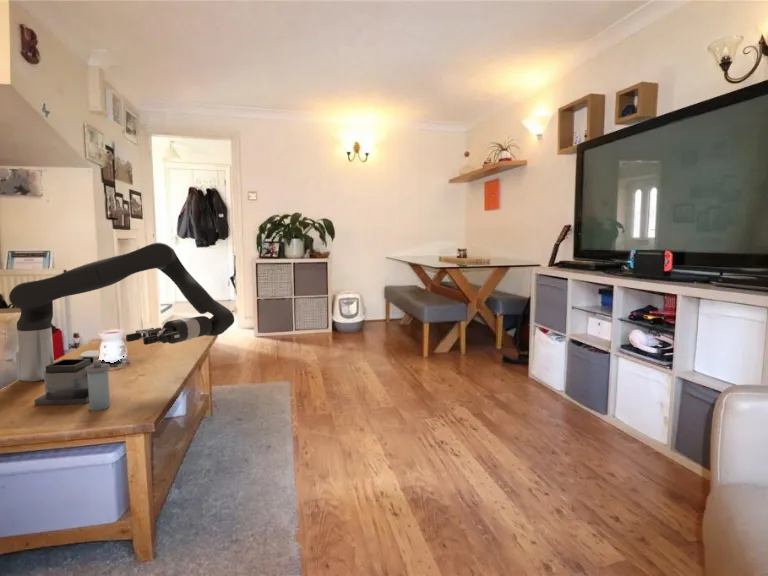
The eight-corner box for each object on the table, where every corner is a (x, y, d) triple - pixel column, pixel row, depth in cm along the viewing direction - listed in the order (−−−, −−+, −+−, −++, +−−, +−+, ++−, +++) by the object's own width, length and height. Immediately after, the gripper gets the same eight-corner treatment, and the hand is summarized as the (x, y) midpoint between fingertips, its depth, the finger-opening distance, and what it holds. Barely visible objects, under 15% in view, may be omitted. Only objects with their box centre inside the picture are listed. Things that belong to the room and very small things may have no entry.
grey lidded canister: (83, 411, 124) (80, 363, 122) (94, 404, 129) (91, 358, 128) (105, 411, 124) (102, 363, 123) (115, 403, 130) (113, 358, 129)
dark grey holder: (32, 406, 127) (29, 368, 126) (62, 389, 141) (60, 356, 140) (84, 404, 129) (82, 367, 128) (109, 388, 143) (107, 355, 141)
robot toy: (128, 360, 180) (86, 359, 176) (128, 349, 180) (86, 348, 176) (118, 368, 168) (73, 368, 164) (119, 357, 168) (73, 356, 164)
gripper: (167, 317, 152) (120, 325, 138) (195, 320, 145) (149, 329, 131) (168, 338, 153) (121, 349, 139) (196, 343, 146) (151, 354, 132)
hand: (135, 339), depth 135 cm, fingers open, 8 cm apart
